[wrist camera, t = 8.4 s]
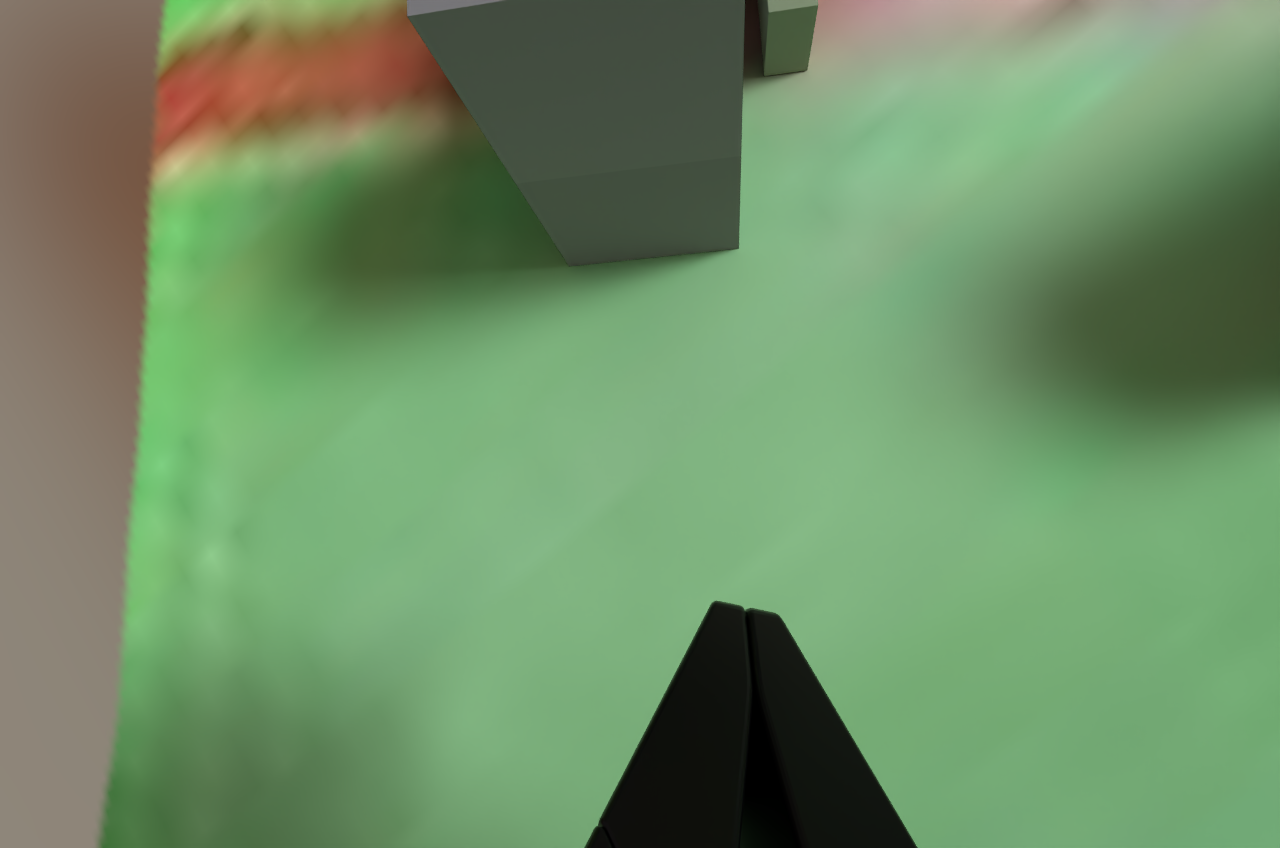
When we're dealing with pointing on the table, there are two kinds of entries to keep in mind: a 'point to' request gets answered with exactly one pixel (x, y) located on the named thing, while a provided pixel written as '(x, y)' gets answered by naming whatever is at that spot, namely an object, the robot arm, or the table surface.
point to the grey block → (606, 114)
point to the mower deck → (786, 34)
